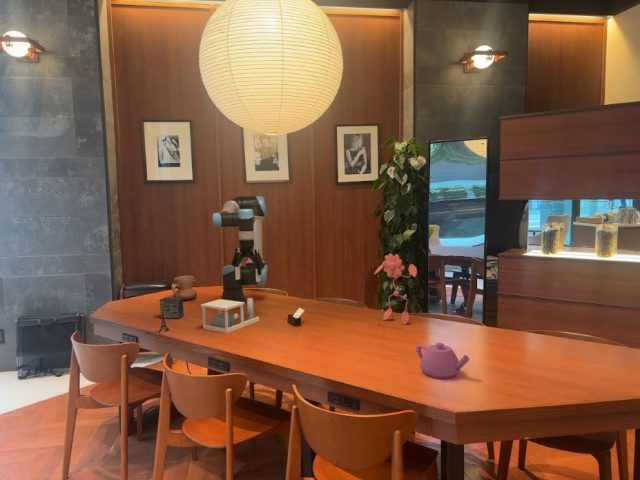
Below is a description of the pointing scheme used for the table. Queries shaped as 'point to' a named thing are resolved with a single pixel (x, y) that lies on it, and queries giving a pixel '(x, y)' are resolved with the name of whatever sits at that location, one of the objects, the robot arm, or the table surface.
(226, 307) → the frame
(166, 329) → the eiffel tower figurine
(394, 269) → the pink flower figurine
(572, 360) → the table surface
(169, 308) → the small box
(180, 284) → the ceramic jug
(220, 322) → the block
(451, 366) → the teapot
